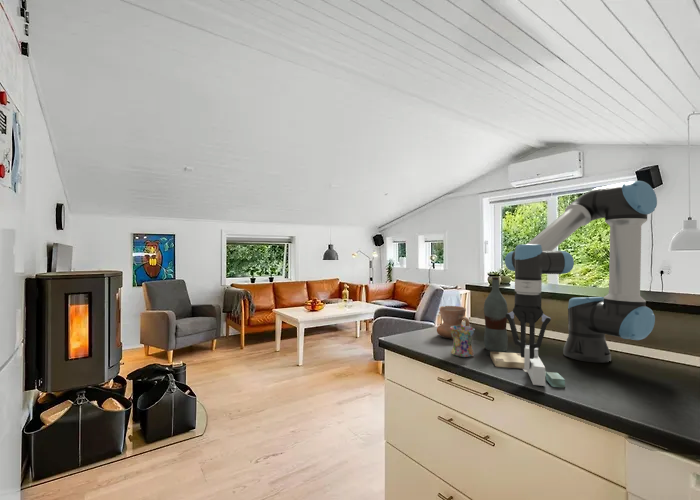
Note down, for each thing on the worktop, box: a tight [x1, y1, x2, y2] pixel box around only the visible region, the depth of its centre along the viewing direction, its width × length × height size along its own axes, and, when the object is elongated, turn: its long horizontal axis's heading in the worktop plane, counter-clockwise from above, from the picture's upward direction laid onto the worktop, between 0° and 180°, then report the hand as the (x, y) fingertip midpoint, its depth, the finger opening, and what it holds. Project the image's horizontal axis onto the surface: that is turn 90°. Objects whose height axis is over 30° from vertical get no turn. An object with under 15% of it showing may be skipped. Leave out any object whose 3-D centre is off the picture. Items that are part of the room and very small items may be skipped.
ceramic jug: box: [436, 305, 470, 340], centre depth 166 cm, size 18×14×14 cm
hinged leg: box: [525, 344, 546, 387], centre depth 112 cm, size 17×4×8 cm, turn 160°
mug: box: [450, 325, 476, 358], centre depth 138 cm, size 12×9×11 cm
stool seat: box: [489, 351, 566, 388], centre depth 119 cm, size 16×28×7 cm, turn 167°
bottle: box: [483, 276, 509, 352], centre depth 146 cm, size 9×9×30 cm
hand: (527, 368), depth 110 cm, fingers closed
